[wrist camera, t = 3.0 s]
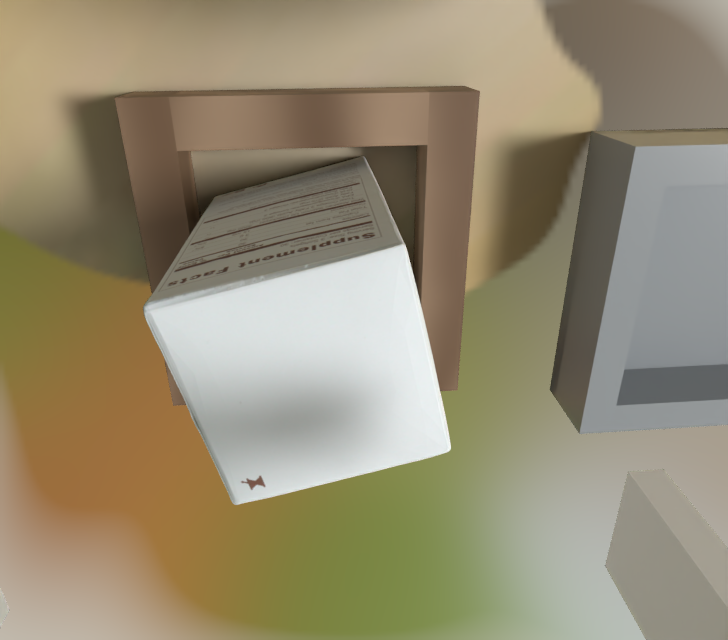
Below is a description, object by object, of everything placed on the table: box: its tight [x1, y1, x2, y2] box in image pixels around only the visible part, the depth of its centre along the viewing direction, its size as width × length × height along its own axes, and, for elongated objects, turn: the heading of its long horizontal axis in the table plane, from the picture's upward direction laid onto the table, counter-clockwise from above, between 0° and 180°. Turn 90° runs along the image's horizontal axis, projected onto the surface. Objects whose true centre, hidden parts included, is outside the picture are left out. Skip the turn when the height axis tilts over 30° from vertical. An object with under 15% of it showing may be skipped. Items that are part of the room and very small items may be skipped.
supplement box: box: [143, 156, 451, 505], centre depth 22 cm, size 7×7×13 cm
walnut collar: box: [115, 86, 480, 405], centre depth 26 cm, size 14×14×2 cm
